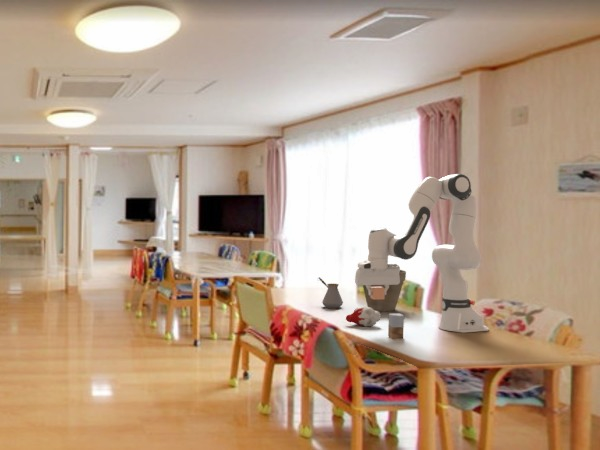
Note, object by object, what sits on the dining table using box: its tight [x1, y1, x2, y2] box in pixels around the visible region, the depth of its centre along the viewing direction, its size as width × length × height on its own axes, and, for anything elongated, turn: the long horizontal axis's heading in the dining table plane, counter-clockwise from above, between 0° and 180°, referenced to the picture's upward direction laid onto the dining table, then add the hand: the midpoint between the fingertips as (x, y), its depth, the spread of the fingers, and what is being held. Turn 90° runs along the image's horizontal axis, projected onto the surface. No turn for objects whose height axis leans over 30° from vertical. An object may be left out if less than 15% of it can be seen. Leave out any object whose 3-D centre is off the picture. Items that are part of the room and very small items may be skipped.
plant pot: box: [362, 269, 407, 312], centre depth 339 cm, size 25×25×22 cm
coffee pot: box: [317, 277, 344, 309], centre depth 347 cm, size 21×12×15 cm, turn 29°
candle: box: [345, 306, 381, 327], centre depth 294 cm, size 9×11×15 cm
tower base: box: [387, 324, 404, 340], centre depth 269 cm, size 5×5×5 cm
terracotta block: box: [370, 287, 385, 300], centre depth 279 cm, size 5×5×5 cm
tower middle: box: [388, 312, 405, 328], centre depth 269 cm, size 5×5×5 cm
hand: (377, 294), depth 279 cm, fingers closed on terracotta block, 5 cm apart
